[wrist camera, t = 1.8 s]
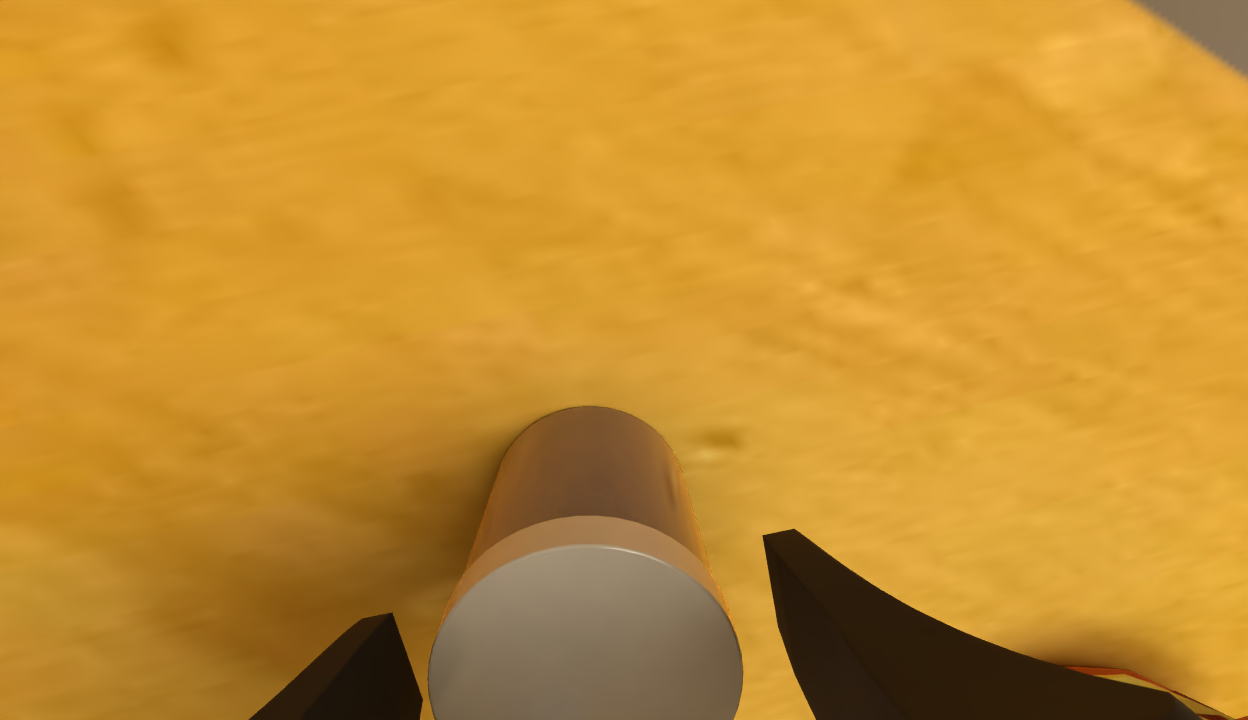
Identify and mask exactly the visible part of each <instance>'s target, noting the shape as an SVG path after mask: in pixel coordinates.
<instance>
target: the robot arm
mask: <svg viewBox="0 0 1248 720" xmlns="http://www.w3.org/2000/svg"><path fill="white" fill-rule="evenodd" d="M763 541H764V547H765V553H766V559H767V564H768V570H769V576H770V582H771V588H772V594H773V599H774V605H775V611H776V617H777V623H778V628H779V631H780V633H781V636H782V639H783V642H784V645H785V648H786V651H787V654H788V657H789V660H790V662H791V665H792V668H793V671H794V674H795V676H796V678H797V680H798V683H799V685H800V687H801V689H802V691H803V693H804V695H805V697H806V699H807V701H808V704H809V706H810V708H811V710H812V712H813V714H814V716H815V718H816V720H1203V719H1202V718H1201V717H1200V716H1198V715H1197V714H1196V713H1195V712H1193V711H1192V710H1191V709H1190V708H1188V707H1187V706H1186V705H1185V704H1184V703H1182V702H1181V701H1180V700H1178V699H1177V698H1176V697H1175V696H1173V695H1172V694H1171V693H1170V692H1166V691H1162V690H1157V689H1153V688H1148V687H1144V686H1139V685H1135V684H1130V683H1125V682H1121V681H1116V680H1112V679H1107V678H1103V677H1098V676H1094V675H1090V674H1086V673H1082V672H1079V671H1075V670H1072V669H1068V668H1065V667H1062V666H1058V665H1055V664H1051V663H1048V662H1044V661H1041V660H1038V659H1035V658H1032V657H1029V656H1026V655H1023V654H1020V653H1017V652H1014V651H1011V650H1008V649H1006V648H1003V647H1000V646H998V645H995V644H993V643H990V642H987V641H985V640H982V639H979V638H977V637H974V636H972V635H969V634H967V633H965V632H962V631H960V630H958V629H955V628H953V627H951V626H949V625H947V624H945V623H943V622H941V621H938V620H936V619H934V618H932V617H930V616H928V615H926V614H924V613H922V612H920V611H918V610H916V609H914V608H912V607H910V606H908V605H906V604H905V603H903V602H901V601H899V600H898V599H896V598H894V597H893V596H891V595H889V594H887V593H886V592H884V591H882V590H880V589H879V588H877V587H876V586H874V585H872V584H871V583H869V582H868V581H866V580H865V579H863V578H862V577H860V576H859V575H857V574H856V573H854V572H853V571H851V570H850V569H848V568H847V567H846V566H844V565H843V564H841V563H840V562H839V561H837V560H836V559H834V558H833V557H832V556H830V555H829V554H828V553H826V552H825V551H824V550H822V549H821V548H820V547H818V546H817V545H816V544H814V543H813V542H812V541H810V540H809V539H808V538H806V537H805V536H804V535H802V534H801V533H800V532H798V531H797V530H795V529H791V530H786V531H781V532H777V533H772V534H767V535H763ZM422 702H423V699H422V696H421V693H420V690H419V687H418V684H417V681H416V679H415V676H414V673H413V670H412V667H411V664H410V661H409V659H408V656H407V653H406V650H405V647H404V644H403V641H402V639H401V636H400V633H399V630H398V627H397V624H396V621H395V619H394V616H393V613H387V614H382V615H377V616H373V617H368V618H363V619H361V620H359V621H358V622H357V623H355V624H354V625H353V626H352V627H350V628H349V629H348V630H347V631H346V632H345V633H343V634H342V635H341V636H340V637H339V638H338V639H337V640H336V641H335V642H333V643H332V644H331V645H330V646H329V647H328V648H327V649H326V650H325V651H324V652H323V653H322V654H321V655H319V656H318V657H317V658H316V659H315V660H314V661H313V662H312V663H311V664H310V665H309V666H308V667H307V668H305V669H304V670H303V671H302V672H301V673H300V674H299V675H298V676H297V677H296V678H295V679H294V680H293V681H291V682H290V683H289V684H288V685H287V686H286V687H285V688H284V689H283V690H282V691H281V692H280V693H278V694H277V695H276V696H275V697H274V698H273V699H272V700H271V701H269V702H268V703H267V704H266V705H265V706H264V707H263V708H261V709H260V710H259V711H258V712H257V713H256V714H255V715H253V716H252V717H251V718H250V719H249V720H420V714H421V708H422Z"/></svg>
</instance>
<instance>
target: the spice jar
mask: <svg viewBox="0 0 1248 720" xmlns="http://www.w3.org/2000/svg"><path fill="white" fill-rule="evenodd" d="M742 685H743V663H742V654H741V650H740V646H739V642H738V638H737V634H736V631H735V628H734V625H733V622H732V618H731V615H730V612H729V609H728V606H727V603H726V601H725V598H724V596H723V593H722V591H721V589H720V587H719V585H718V584H717V582H716V581H715V579H714V577H713V575H712V572H711V569H710V565H709V562H708V559H707V555H706V552H705V549H704V545H703V542H702V539H701V535H700V532H699V529H698V525H697V522H696V519H695V515H694V512H693V508H692V505H691V502H690V498H689V495H688V492H687V488H686V485H685V482H684V478H683V475H682V472H681V468H680V466H679V463H678V461H677V458H676V456H675V454H674V453H673V451H672V449H671V448H670V446H669V445H668V444H667V442H666V441H665V440H664V439H663V437H662V436H661V435H660V434H659V433H658V432H656V431H655V430H654V429H653V428H652V427H650V426H649V425H648V424H646V423H645V422H643V421H642V420H640V419H638V418H636V417H634V416H632V415H630V414H627V413H625V412H622V411H618V410H614V409H610V408H603V407H577V408H570V409H566V410H563V411H559V412H556V413H554V414H551V415H549V416H546V417H544V418H543V419H541V420H539V421H537V422H535V423H534V424H533V425H531V426H530V427H529V428H527V429H526V430H525V431H524V432H523V433H522V434H521V435H520V436H519V437H518V438H517V439H516V440H515V441H514V443H513V444H512V445H511V446H510V448H509V449H508V451H507V453H506V455H505V456H504V458H503V461H502V463H501V465H500V468H499V471H498V474H497V477H496V480H495V483H494V485H493V488H492V491H491V494H490V497H489V500H488V503H487V506H486V509H485V512H484V515H483V518H482V521H481V524H480V527H479V530H478V533H477V536H476V539H475V542H474V544H473V547H472V550H471V553H470V556H469V559H468V562H467V565H466V568H465V571H464V574H463V576H462V578H461V579H460V581H459V582H458V584H457V586H456V587H455V589H454V591H453V592H452V594H451V597H450V599H449V602H448V604H447V607H446V609H445V612H444V615H443V618H442V620H441V623H440V626H439V629H438V632H437V635H436V637H435V640H434V643H433V647H432V651H431V655H430V659H429V668H428V690H429V698H430V703H431V707H432V711H433V715H434V718H435V720H734V717H735V714H736V712H737V709H738V706H739V702H740V697H741V692H742Z"/></svg>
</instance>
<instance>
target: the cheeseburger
mask: <svg viewBox="0 0 1248 720" xmlns="http://www.w3.org/2000/svg"><path fill="white" fill-rule="evenodd" d="M1066 668H1068V669H1072V670H1075V671H1079V672H1082V673H1086V674H1090V675H1094V676H1098V677H1103V678H1107V679H1112V680H1116V681H1121V682H1125V683H1130V684H1135V685H1139V686H1144V687H1148V688H1153V689H1157V690H1162V691H1166V692H1170V693H1171V694H1172V695H1173V696H1175V697H1176V698H1177V699H1178V700H1180V701H1181V702H1182V703H1184V704H1185V705H1186V706H1187V707H1188V708H1190V709H1191V710H1192V711H1193V712H1195V713H1196V714H1197V715H1198V716H1200V717H1201V718H1202V719H1203V720H1248V716H1246V717H1242V718H1239V719H1233V718H1232V717H1230V716H1228V715H1225V714H1223V713H1221V712H1219V711H1217V710H1215V709H1213V708H1211V707H1208V706H1206V705H1204V704H1202V703H1200V702H1198V701H1196V700H1193V699H1191V698H1189V697H1187V696H1185V695H1183V694H1181V693H1178V692H1176V691H1172V690H1170V689H1168V688H1166V687H1164V686H1162V685H1159V684H1157V683H1155V682H1153V681H1151V680H1149V679H1147V678H1145V677H1143V676H1140V675H1138V674H1136V673H1134V672H1132V671H1130V670H1123V669H1106V668H1089V667H1072V666H1069V667H1066Z"/></svg>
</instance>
